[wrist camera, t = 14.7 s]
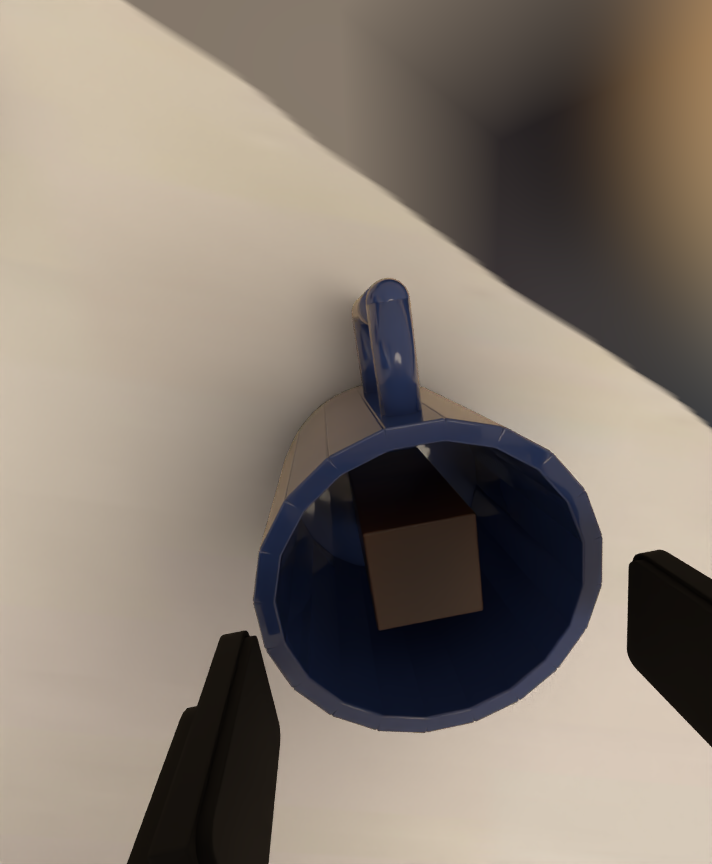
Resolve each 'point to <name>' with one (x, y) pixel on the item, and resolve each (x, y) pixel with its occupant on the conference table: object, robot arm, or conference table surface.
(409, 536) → the walnut peg
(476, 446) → the mug
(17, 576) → the conference table surface
